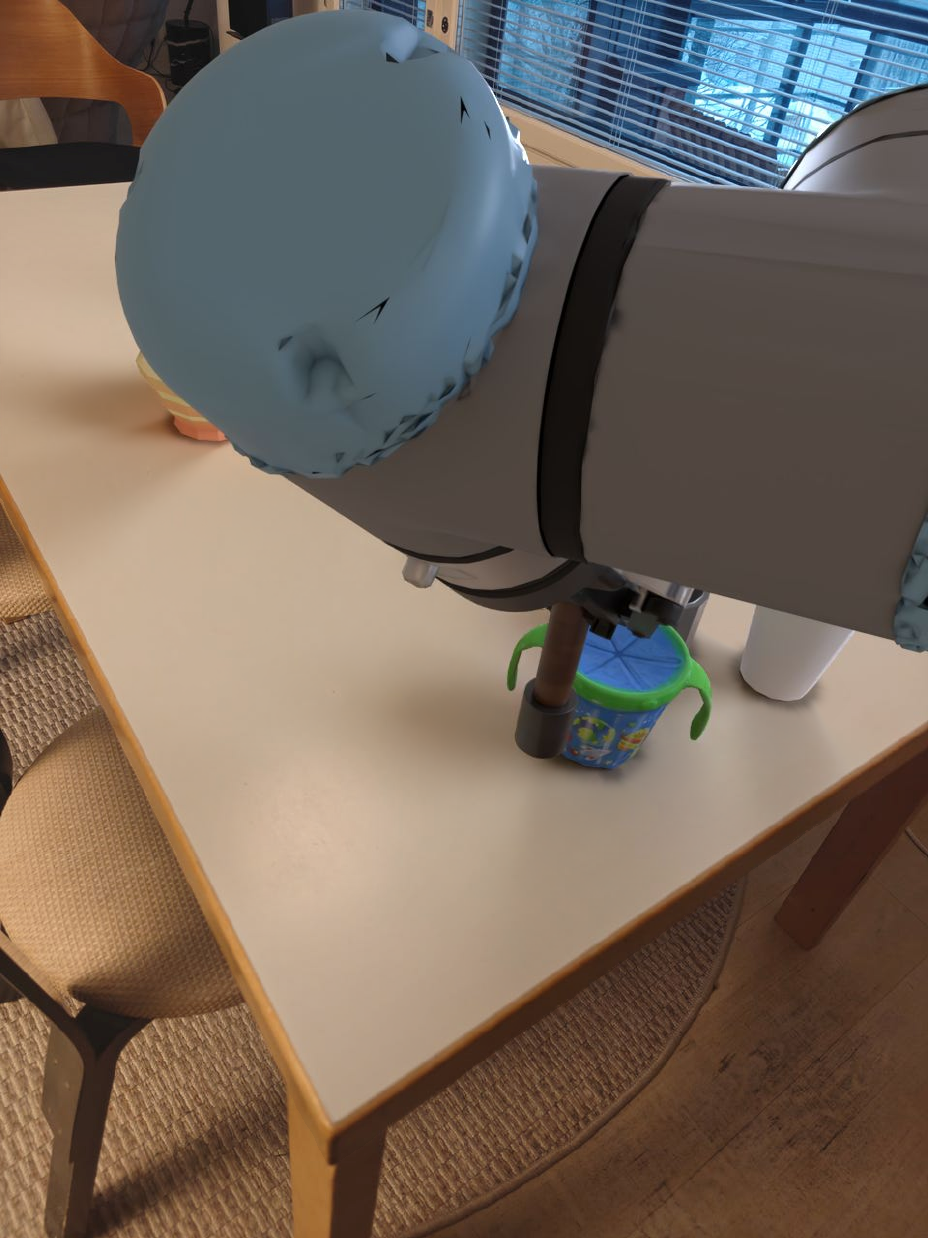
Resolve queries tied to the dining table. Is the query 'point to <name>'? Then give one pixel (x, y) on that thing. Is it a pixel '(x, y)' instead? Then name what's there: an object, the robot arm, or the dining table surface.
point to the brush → (553, 685)
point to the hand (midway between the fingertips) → (591, 606)
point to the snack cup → (623, 691)
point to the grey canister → (692, 616)
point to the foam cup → (788, 652)
